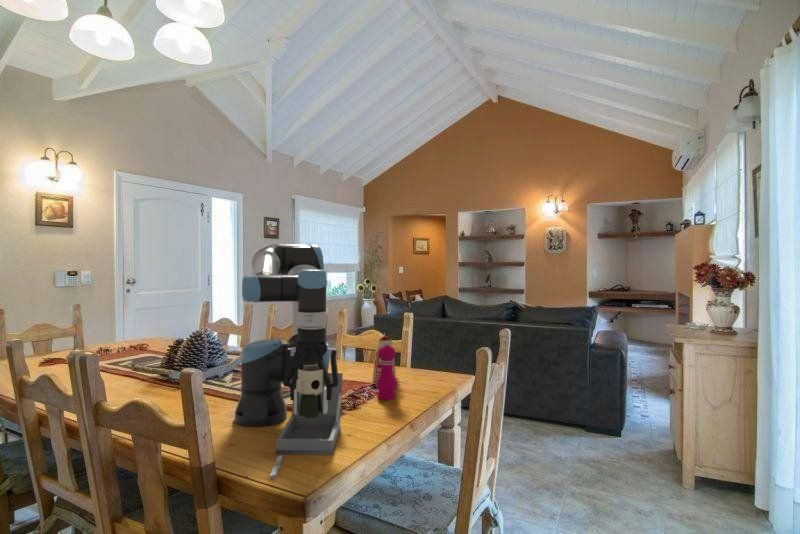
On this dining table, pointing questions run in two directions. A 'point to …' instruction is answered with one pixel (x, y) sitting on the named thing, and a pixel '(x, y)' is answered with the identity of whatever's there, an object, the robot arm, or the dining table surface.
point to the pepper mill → (386, 373)
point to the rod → (276, 467)
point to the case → (313, 428)
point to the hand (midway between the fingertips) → (310, 411)
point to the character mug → (310, 390)
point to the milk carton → (377, 359)
